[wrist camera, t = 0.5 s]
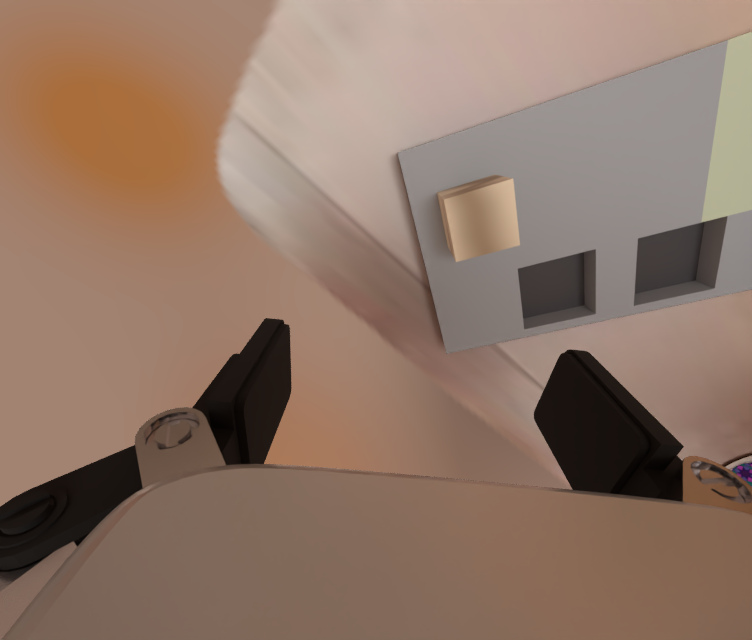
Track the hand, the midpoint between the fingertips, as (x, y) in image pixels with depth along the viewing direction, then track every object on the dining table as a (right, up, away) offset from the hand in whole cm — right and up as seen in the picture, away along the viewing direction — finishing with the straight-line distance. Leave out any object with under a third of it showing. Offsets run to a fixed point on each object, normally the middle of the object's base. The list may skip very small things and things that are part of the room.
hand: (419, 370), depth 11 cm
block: (+7, +12, +18) cm, 22 cm away
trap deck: (+19, +12, +20) cm, 30 cm away
